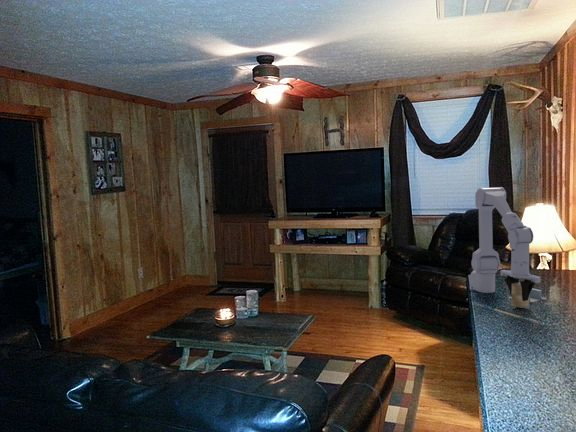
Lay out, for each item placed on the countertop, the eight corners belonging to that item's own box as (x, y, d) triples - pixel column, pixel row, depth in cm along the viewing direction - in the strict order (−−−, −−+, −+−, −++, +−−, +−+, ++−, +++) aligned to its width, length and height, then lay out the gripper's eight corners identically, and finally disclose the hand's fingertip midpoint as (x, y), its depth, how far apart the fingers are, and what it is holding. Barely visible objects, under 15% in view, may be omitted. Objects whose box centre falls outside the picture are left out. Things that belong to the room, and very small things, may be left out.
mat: (494, 310, 164) (494, 309, 164) (519, 304, 171) (519, 303, 171) (518, 317, 155) (518, 316, 155) (545, 311, 162) (545, 310, 162)
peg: (511, 305, 164) (511, 283, 163) (518, 303, 166) (519, 282, 165) (521, 308, 160) (521, 285, 160) (528, 306, 162) (529, 284, 161)
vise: (507, 299, 177) (507, 289, 177) (526, 295, 182) (526, 285, 182) (528, 305, 169) (528, 294, 169) (547, 300, 174) (547, 290, 173)
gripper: (494, 259, 166) (494, 295, 167) (531, 266, 153) (530, 305, 154) (507, 257, 169) (507, 293, 170) (545, 263, 156) (544, 302, 157)
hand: (519, 298), depth 163 cm, fingers closed on peg, 4 cm apart
